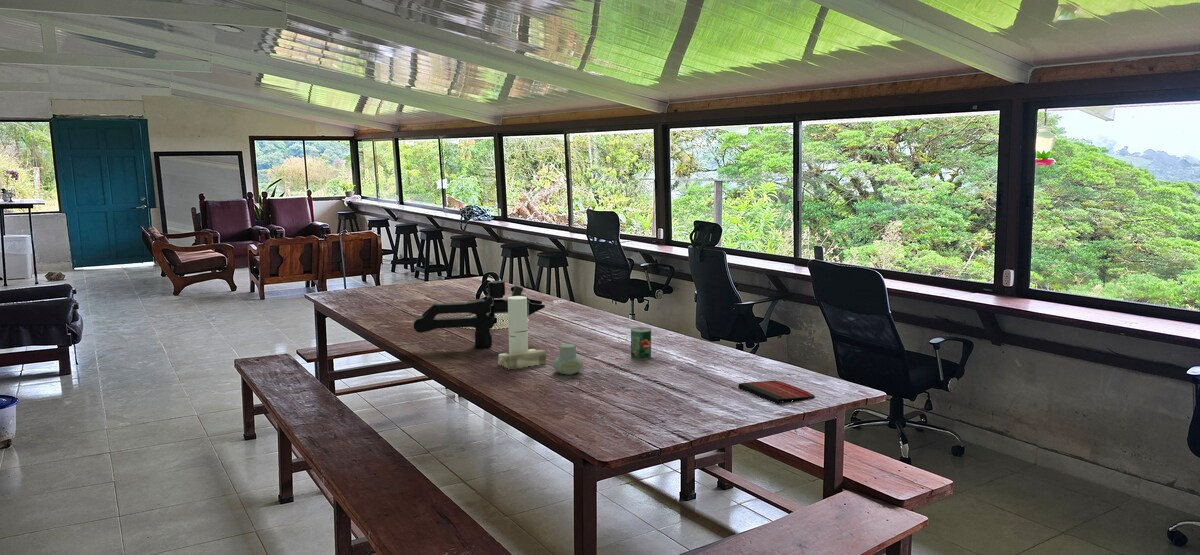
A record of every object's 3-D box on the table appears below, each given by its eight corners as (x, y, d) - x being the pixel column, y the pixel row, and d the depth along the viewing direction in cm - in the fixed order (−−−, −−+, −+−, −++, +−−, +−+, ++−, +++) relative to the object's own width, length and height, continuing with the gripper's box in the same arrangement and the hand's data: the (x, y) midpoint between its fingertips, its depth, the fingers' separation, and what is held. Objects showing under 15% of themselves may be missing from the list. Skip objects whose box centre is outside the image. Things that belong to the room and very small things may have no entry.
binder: (778, 398, 256) (737, 382, 274) (778, 406, 256) (737, 389, 274) (818, 394, 263) (776, 378, 281) (817, 401, 263) (775, 385, 282)
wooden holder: (498, 364, 308) (498, 351, 307) (533, 358, 316) (533, 346, 315) (510, 369, 300) (509, 356, 299) (545, 364, 308) (545, 351, 307)
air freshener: (555, 376, 290) (555, 349, 289) (550, 371, 298) (550, 344, 297) (585, 374, 293) (585, 347, 292) (579, 368, 301) (579, 342, 300)
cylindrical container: (527, 365, 307) (525, 299, 303) (508, 365, 307) (506, 299, 303) (529, 360, 314) (527, 295, 310) (510, 360, 314) (509, 296, 310)
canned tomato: (649, 360, 312) (649, 331, 311) (629, 359, 314) (629, 331, 312) (652, 355, 320) (652, 327, 319) (632, 354, 322) (632, 326, 320)
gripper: (506, 290, 326) (545, 288, 329) (503, 283, 344) (540, 281, 347) (507, 317, 328) (546, 315, 331) (504, 309, 346) (540, 307, 349)
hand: (543, 304), depth 339 cm, fingers open, 9 cm apart
